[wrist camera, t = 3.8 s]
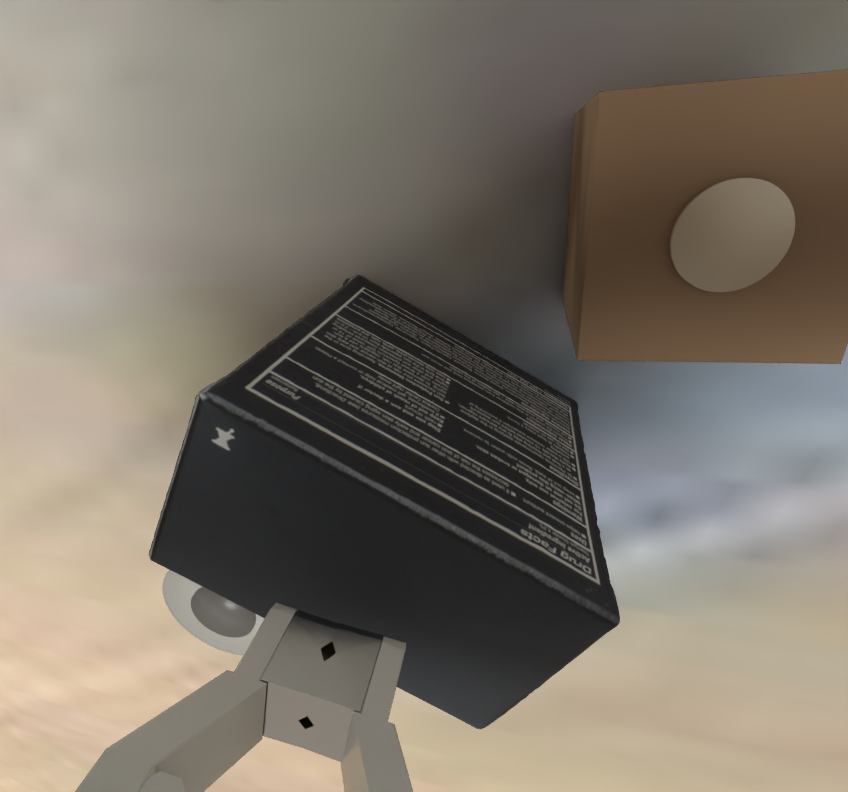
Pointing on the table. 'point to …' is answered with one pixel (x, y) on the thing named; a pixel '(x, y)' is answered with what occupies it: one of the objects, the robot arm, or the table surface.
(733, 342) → the walnut cube
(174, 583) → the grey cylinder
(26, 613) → the table surface
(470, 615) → the small box
